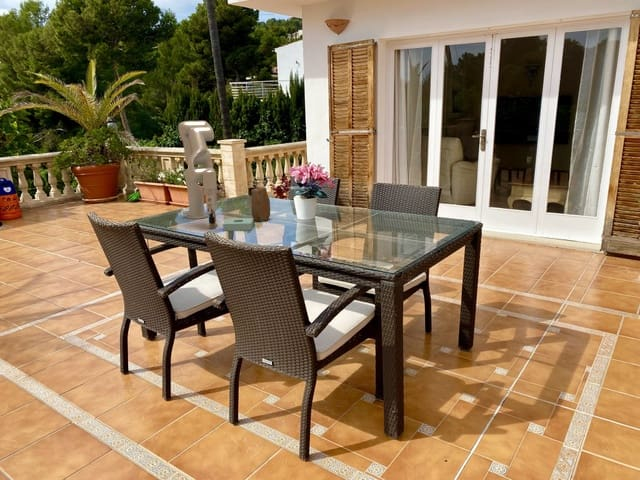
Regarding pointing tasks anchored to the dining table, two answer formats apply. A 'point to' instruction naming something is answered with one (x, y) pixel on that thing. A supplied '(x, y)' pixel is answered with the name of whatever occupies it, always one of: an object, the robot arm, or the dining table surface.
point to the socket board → (238, 224)
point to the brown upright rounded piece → (260, 204)
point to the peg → (213, 224)
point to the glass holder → (250, 197)
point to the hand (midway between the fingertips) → (212, 222)
